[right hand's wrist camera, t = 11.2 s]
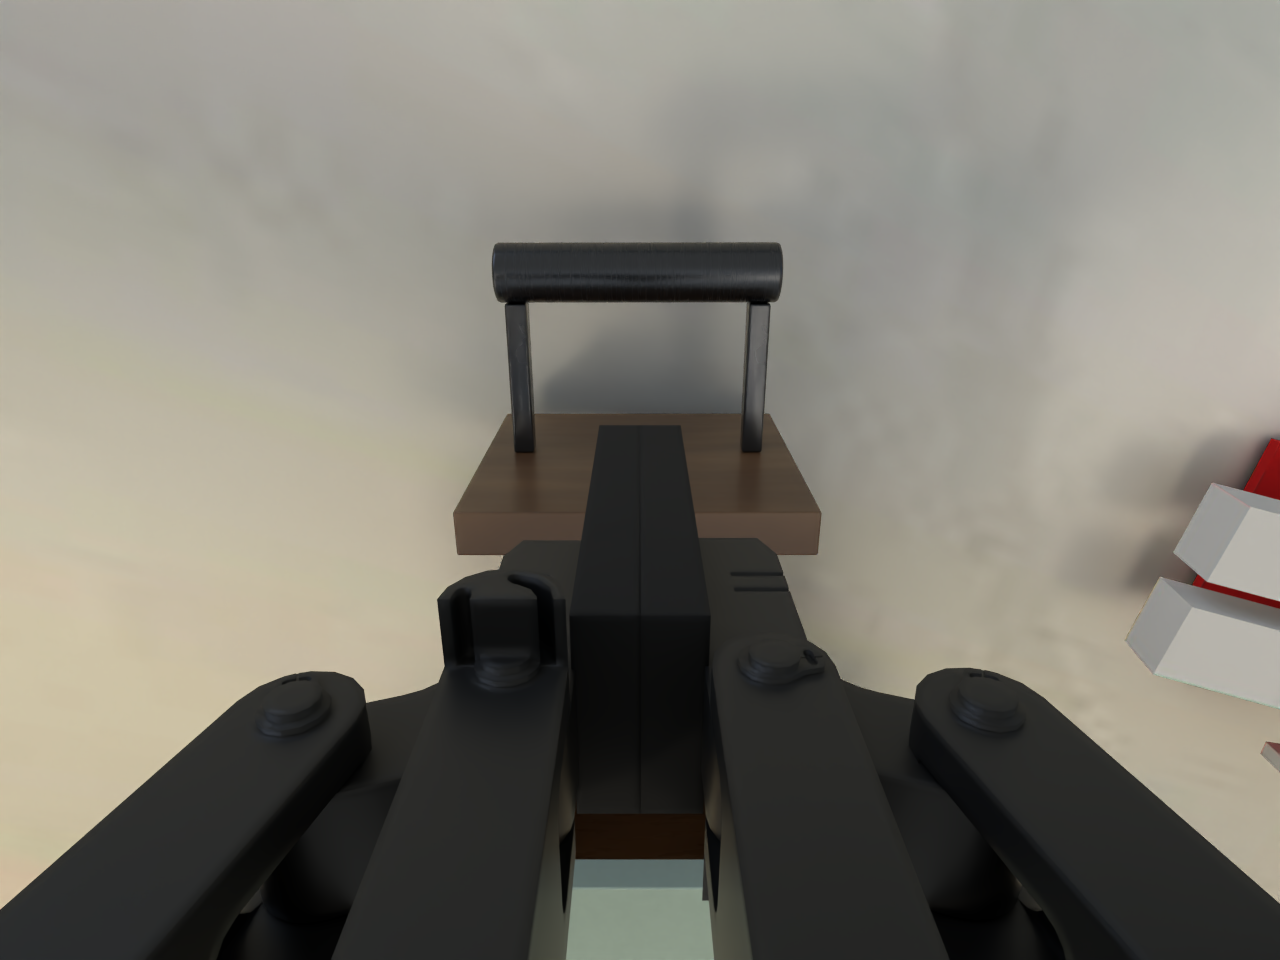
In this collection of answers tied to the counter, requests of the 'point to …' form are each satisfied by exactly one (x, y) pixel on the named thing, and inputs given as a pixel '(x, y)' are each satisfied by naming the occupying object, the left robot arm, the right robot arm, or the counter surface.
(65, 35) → the counter surface
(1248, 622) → the toy
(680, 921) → the sage green rectangular box
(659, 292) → the drawer
